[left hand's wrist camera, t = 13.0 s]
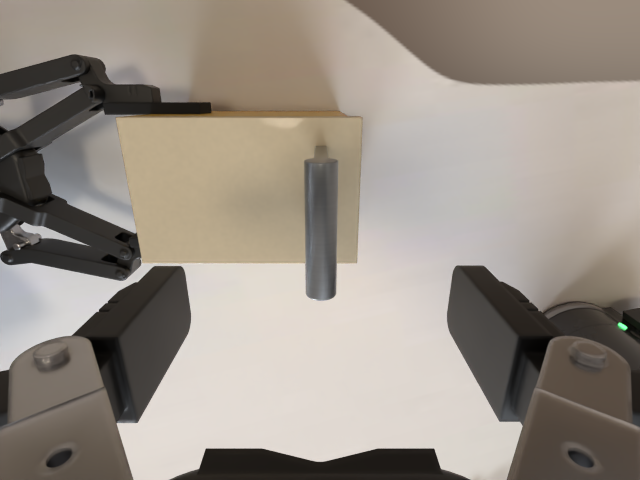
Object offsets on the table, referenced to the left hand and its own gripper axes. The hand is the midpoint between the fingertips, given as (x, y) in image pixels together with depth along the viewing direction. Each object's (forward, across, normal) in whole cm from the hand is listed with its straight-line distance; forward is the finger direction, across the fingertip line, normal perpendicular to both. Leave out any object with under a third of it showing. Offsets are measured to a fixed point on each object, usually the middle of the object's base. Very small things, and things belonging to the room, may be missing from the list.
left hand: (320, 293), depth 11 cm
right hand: (+18, -8, 0) cm, 20 cm away
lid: (+13, -5, 0) cm, 14 cm away
